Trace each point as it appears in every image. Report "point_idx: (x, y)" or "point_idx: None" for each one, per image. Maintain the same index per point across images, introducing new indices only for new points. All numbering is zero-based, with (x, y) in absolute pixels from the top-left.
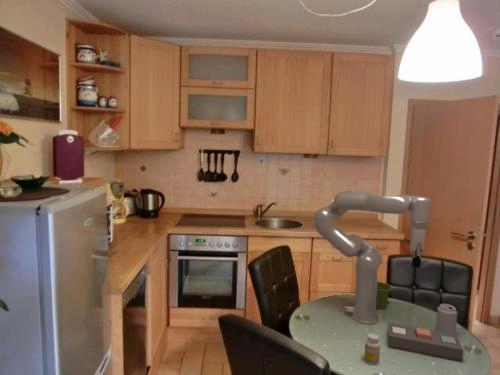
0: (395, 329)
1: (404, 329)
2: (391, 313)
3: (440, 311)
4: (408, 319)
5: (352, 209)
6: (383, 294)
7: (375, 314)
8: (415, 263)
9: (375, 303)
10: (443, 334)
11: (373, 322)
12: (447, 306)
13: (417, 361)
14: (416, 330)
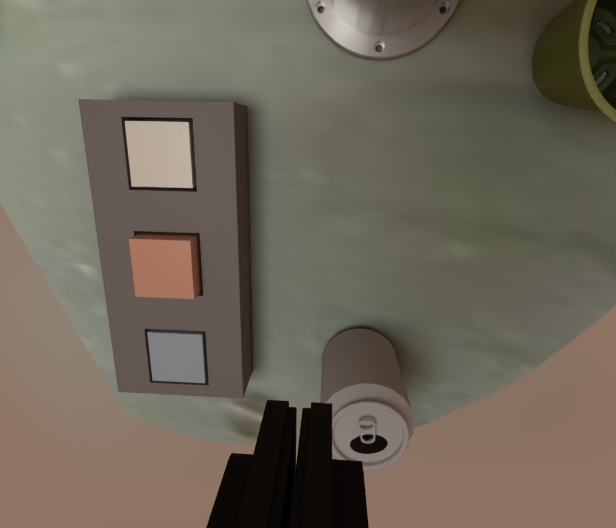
0: (160, 137)
1: (183, 183)
2: (495, 137)
3: (340, 388)
4: (443, 221)
5: None
6: (571, 69)
7: (423, 37)
8: (221, 488)
9: (366, 2)
10: (218, 348)
11: (320, 27)
12: (387, 436)
13: (65, 215)
14: (165, 239)
